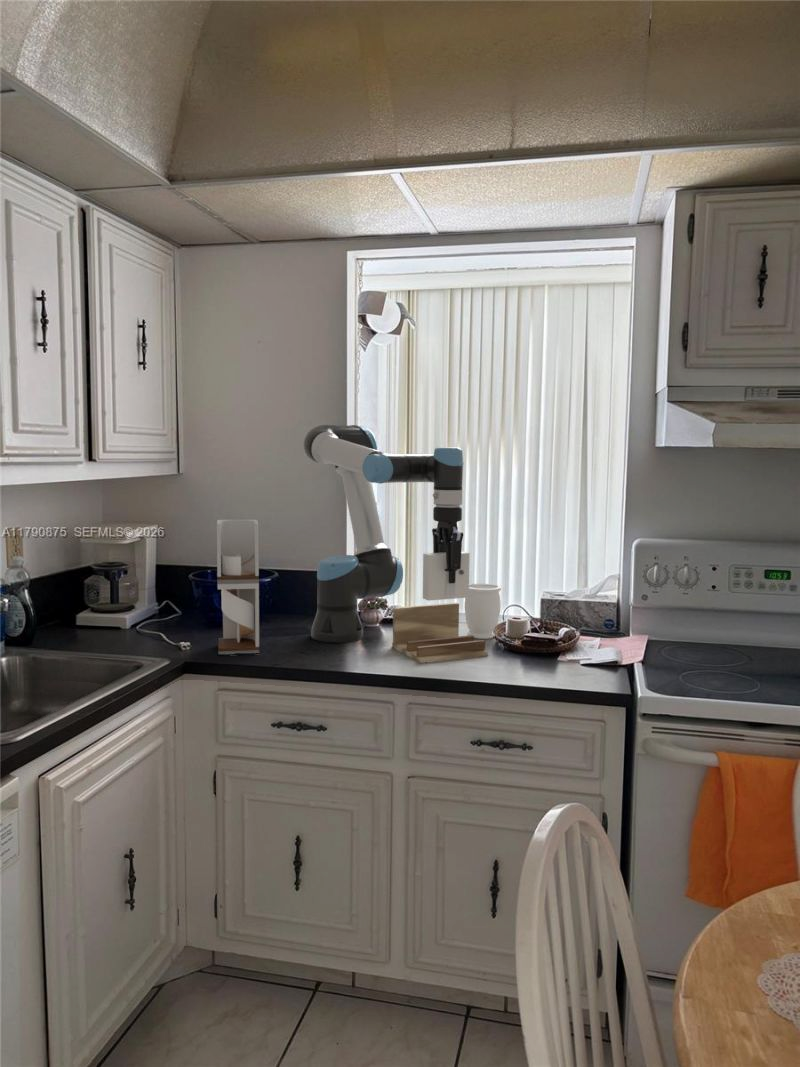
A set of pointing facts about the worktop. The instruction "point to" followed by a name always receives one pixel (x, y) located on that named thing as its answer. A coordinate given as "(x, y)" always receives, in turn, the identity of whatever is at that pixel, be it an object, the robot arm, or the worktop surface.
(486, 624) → the jar
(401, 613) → the track base
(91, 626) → the worktop surface
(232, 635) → the spiral ramp tower
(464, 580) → the door panel
